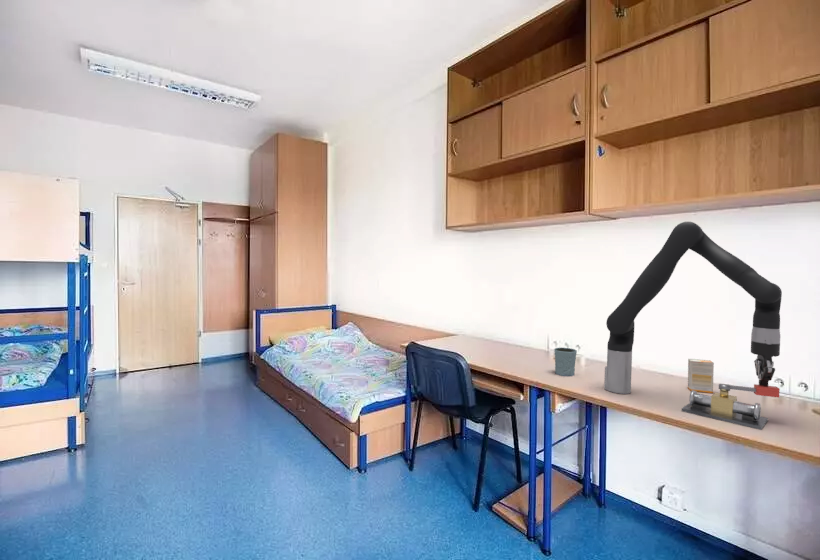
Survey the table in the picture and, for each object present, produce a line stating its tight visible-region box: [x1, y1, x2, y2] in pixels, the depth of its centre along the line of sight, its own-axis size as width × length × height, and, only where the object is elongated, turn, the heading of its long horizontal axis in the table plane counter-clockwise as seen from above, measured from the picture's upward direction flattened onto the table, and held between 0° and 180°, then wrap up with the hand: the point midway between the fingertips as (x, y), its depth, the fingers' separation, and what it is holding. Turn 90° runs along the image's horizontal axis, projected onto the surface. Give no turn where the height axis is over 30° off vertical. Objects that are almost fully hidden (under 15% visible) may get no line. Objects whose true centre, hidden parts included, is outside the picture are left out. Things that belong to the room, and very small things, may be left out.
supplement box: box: [687, 358, 715, 394], centre depth 173 cm, size 8×5×13 cm, turn 66°
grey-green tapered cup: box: [553, 347, 577, 377], centre depth 197 cm, size 10×10×12 cm
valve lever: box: [718, 383, 780, 398], centre depth 140 cm, size 16×3×3 cm, turn 65°
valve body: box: [681, 389, 769, 431], centre depth 143 cm, size 22×12×9 cm, turn 41°
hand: (763, 390), depth 141 cm, fingers closed
